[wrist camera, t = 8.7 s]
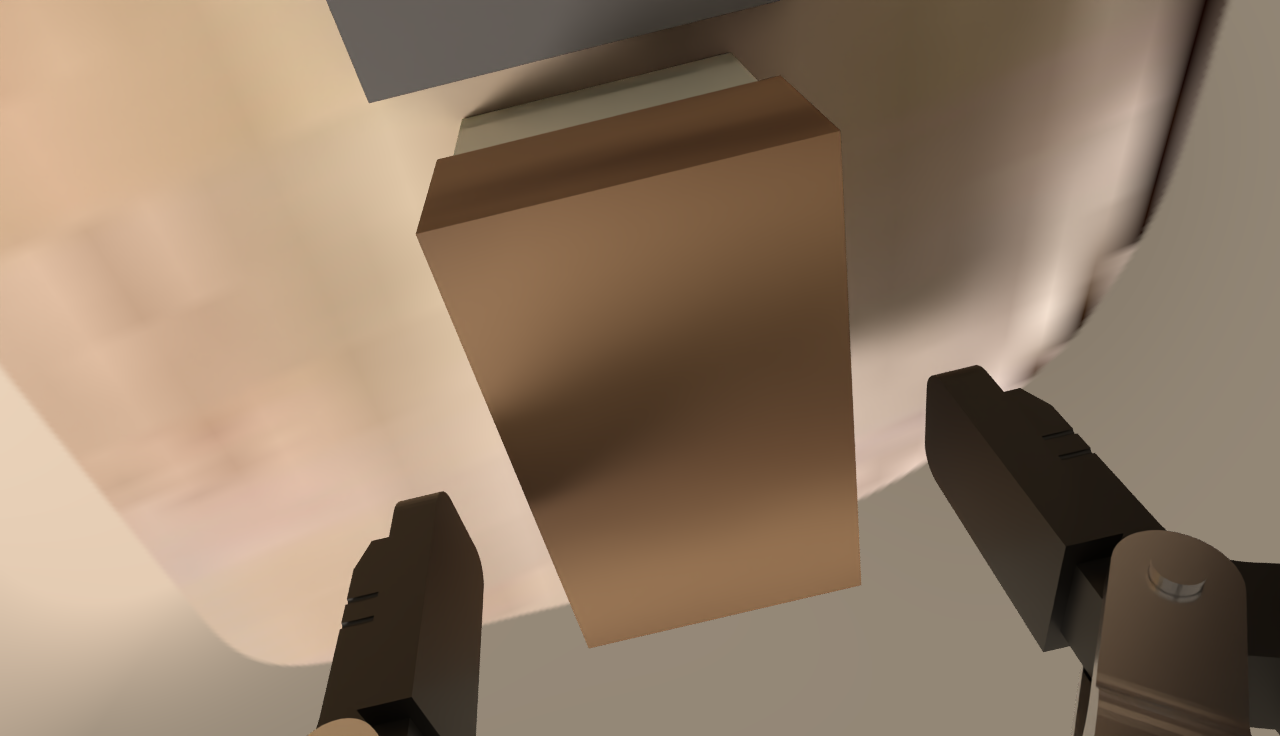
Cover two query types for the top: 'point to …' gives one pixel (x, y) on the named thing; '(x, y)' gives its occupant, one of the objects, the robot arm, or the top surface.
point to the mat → (492, 34)
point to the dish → (601, 102)
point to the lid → (665, 350)
